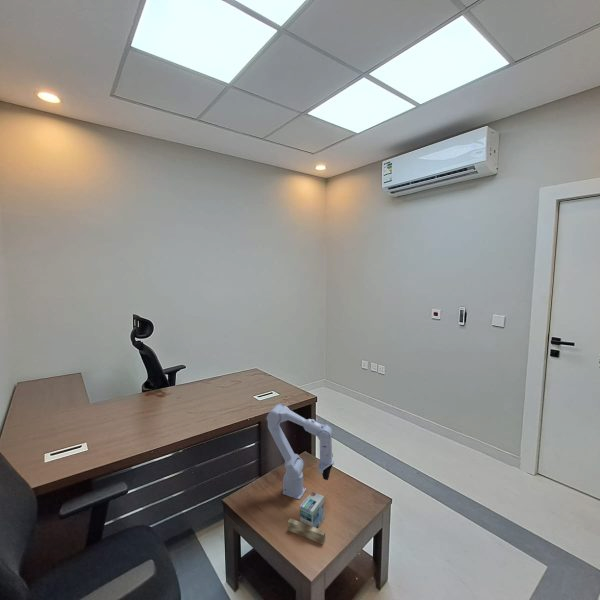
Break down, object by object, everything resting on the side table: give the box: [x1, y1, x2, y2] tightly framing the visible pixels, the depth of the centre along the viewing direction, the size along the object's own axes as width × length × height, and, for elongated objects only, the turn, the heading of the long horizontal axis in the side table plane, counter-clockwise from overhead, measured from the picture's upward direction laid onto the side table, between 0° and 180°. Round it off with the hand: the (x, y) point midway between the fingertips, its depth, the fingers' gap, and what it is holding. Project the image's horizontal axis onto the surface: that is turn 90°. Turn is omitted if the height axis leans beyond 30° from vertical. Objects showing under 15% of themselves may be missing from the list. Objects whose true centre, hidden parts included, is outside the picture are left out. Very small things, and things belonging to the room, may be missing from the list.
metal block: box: [287, 517, 326, 545], centre depth 131 cm, size 16×2×4 cm, turn 64°
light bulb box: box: [299, 490, 325, 529], centre depth 136 cm, size 11×7×11 cm, turn 148°
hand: (326, 478), depth 150 cm, fingers closed
